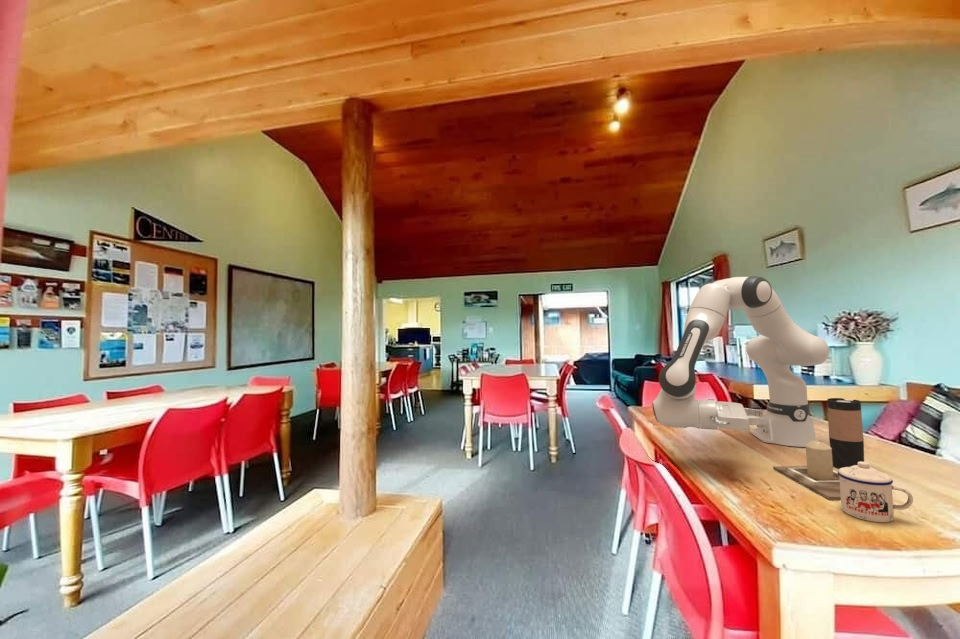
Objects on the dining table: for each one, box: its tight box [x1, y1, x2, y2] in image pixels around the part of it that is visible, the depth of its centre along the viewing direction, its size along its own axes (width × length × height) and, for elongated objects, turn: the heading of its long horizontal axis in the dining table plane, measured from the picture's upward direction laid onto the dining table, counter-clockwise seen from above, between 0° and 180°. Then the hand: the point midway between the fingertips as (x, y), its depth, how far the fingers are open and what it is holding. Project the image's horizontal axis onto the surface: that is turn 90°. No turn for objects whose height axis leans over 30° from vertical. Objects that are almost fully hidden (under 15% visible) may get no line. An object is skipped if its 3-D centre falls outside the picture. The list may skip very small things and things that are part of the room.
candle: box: [805, 440, 834, 481], centre depth 111 cm, size 6×6×10 cm
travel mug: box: [826, 397, 865, 470], centre depth 120 cm, size 8×8×20 cm
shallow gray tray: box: [772, 465, 841, 501], centre depth 109 cm, size 22×13×2 cm, turn 174°
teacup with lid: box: [837, 461, 914, 523], centre depth 91 cm, size 12×9×12 cm
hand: (764, 416), depth 117 cm, fingers open, 8 cm apart
